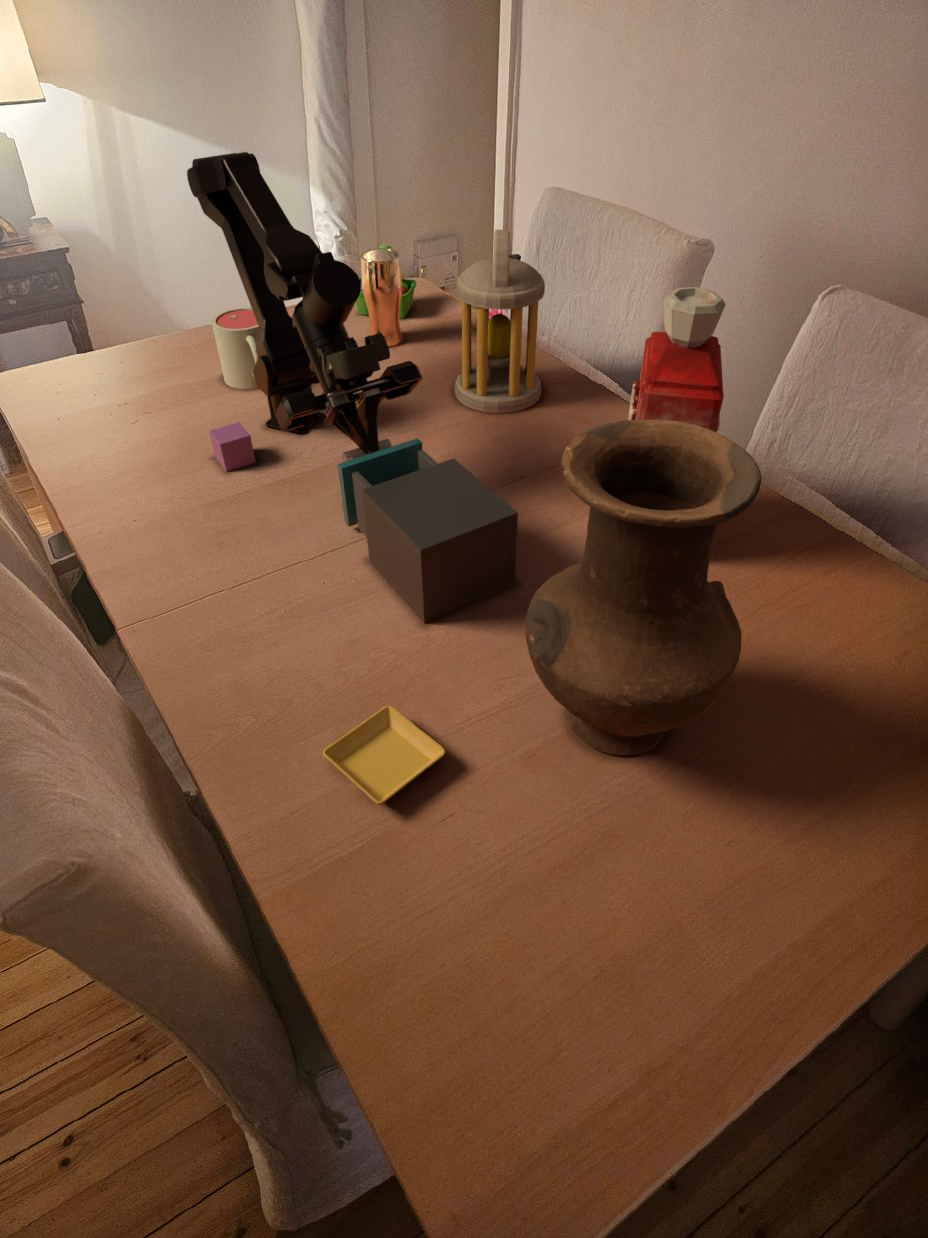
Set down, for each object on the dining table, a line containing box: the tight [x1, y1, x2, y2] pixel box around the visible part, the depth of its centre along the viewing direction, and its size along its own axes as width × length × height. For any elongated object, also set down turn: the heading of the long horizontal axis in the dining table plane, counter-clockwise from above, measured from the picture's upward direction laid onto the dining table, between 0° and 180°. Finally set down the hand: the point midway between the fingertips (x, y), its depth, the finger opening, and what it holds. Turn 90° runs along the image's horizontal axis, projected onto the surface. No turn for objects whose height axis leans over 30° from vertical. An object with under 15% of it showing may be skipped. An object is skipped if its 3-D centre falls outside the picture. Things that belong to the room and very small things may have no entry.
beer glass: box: [360, 247, 404, 348], centre depth 145 cm, size 7×7×15 cm
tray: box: [337, 438, 439, 538], centre depth 103 cm, size 17×11×9 cm
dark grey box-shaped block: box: [362, 458, 519, 624], centre depth 97 cm, size 14×13×11 cm
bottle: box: [627, 286, 727, 433], centre depth 97 cm, size 14×10×30 cm
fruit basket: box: [355, 244, 417, 319], centre depth 156 cm, size 11×9×11 cm
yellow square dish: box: [322, 705, 447, 805], centre depth 78 cm, size 9×9×2 cm
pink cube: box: [208, 421, 257, 472], centre depth 118 cm, size 4×4×4 cm
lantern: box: [454, 229, 546, 414], centre depth 126 cm, size 14×14×25 cm
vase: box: [524, 419, 762, 756], centre depth 73 cm, size 19×19×30 cm
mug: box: [211, 306, 259, 390], centre depth 134 cm, size 14×9×10 cm
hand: (375, 457), depth 105 cm, fingers closed, pressing on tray
